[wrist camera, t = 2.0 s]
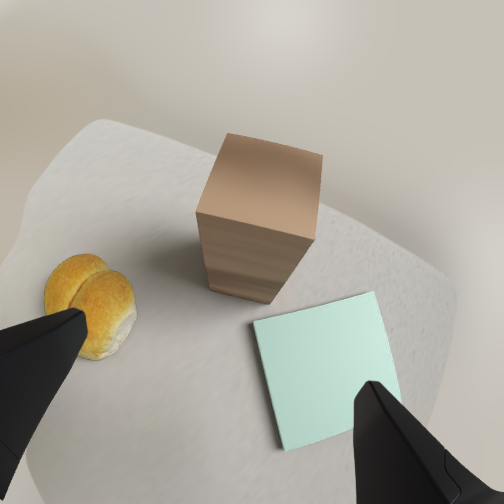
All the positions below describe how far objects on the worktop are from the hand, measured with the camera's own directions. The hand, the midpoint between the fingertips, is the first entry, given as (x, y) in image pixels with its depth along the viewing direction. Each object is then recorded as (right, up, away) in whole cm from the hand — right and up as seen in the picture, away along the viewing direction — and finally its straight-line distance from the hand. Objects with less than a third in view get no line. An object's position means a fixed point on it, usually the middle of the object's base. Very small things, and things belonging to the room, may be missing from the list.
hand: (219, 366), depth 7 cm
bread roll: (-13, -2, +13) cm, 19 cm away
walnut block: (0, +2, +16) cm, 16 cm away
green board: (+8, -6, +13) cm, 16 cm away
